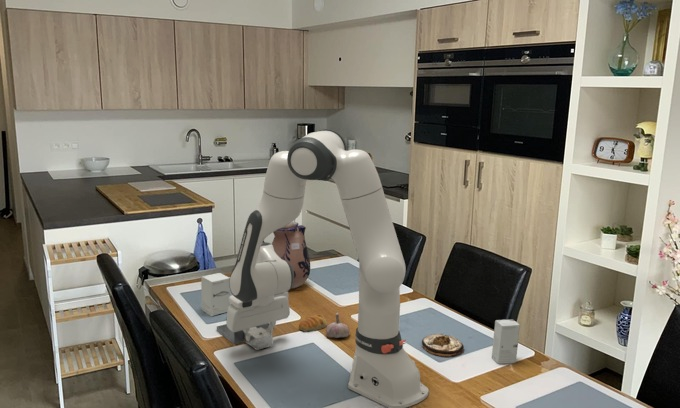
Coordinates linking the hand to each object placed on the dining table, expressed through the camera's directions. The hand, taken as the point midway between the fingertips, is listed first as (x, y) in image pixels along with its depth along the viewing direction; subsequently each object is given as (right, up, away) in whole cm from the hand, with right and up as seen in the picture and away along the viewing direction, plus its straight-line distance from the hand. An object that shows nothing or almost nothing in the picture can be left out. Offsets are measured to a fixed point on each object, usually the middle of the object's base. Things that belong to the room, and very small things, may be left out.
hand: (259, 337), depth 167 cm
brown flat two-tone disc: (+57, -5, +3) cm, 57 cm away
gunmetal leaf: (-7, 0, +9) cm, 12 cm away
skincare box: (+74, -6, -3) cm, 74 cm away
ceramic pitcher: (+2, +8, +53) cm, 54 cm away
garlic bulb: (+24, -2, +9) cm, 26 cm away
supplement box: (-19, +3, +25) cm, 32 cm away
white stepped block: (-1, -2, +2) cm, 3 cm away
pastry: (+16, -1, +15) cm, 22 cm away
